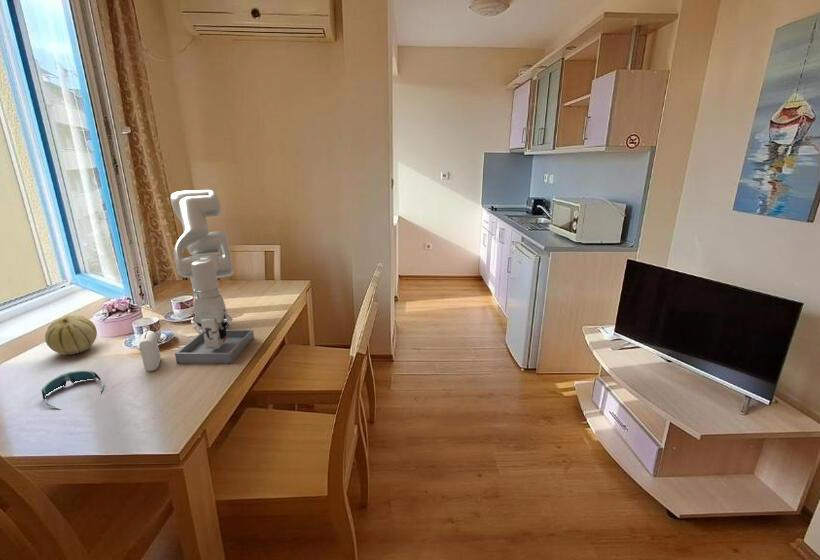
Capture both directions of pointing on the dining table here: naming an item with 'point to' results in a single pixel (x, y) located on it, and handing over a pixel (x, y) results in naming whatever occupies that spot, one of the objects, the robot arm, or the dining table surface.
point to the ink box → (212, 334)
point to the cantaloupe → (70, 334)
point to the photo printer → (149, 351)
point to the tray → (223, 355)
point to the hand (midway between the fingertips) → (215, 337)
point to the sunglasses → (66, 377)
